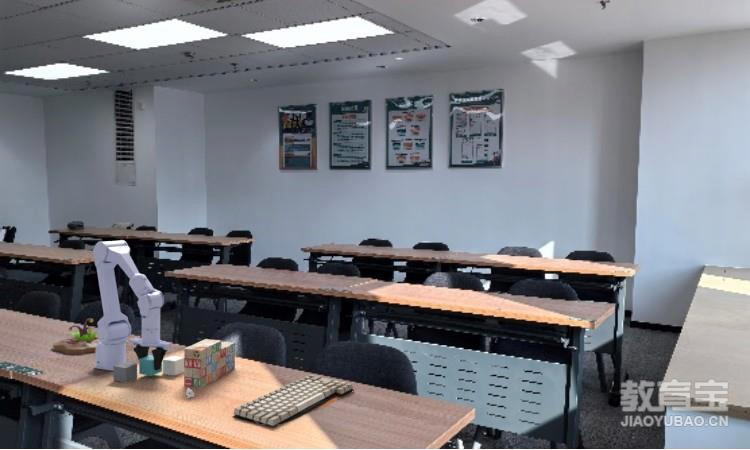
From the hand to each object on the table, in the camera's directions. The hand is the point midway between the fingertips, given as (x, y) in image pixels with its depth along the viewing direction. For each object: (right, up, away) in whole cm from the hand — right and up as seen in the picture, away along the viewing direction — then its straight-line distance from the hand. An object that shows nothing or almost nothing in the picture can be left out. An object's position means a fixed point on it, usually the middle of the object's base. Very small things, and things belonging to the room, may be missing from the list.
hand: (150, 368), depth 189 cm
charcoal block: (-7, -3, -4) cm, 8 cm away
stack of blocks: (+20, -3, +1) cm, 20 cm away
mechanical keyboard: (+51, -6, -20) cm, 56 cm away
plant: (-39, -1, +33) cm, 51 cm away
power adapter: (+20, -5, -17) cm, 27 cm away
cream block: (+6, -3, +4) cm, 8 cm away
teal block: (0, -1, 0) cm, 1 cm away
